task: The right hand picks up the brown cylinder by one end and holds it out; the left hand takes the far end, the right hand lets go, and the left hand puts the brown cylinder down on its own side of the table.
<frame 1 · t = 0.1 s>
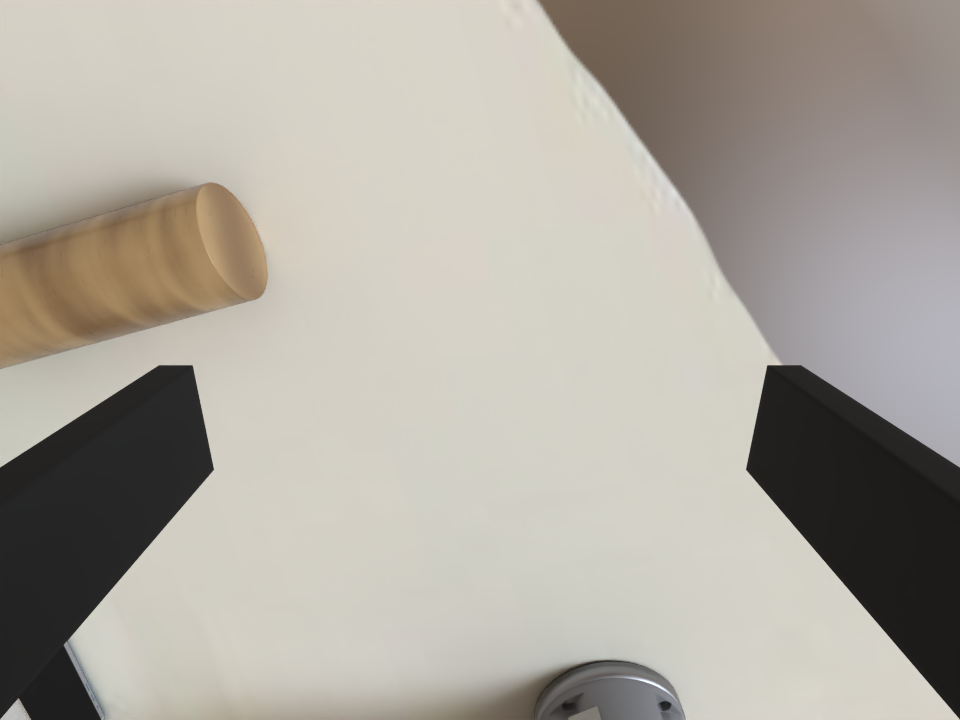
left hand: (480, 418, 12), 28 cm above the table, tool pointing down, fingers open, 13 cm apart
smartphone: (50, 671, 54), on the table
brown cylinder: (111, 276, 40), on the table
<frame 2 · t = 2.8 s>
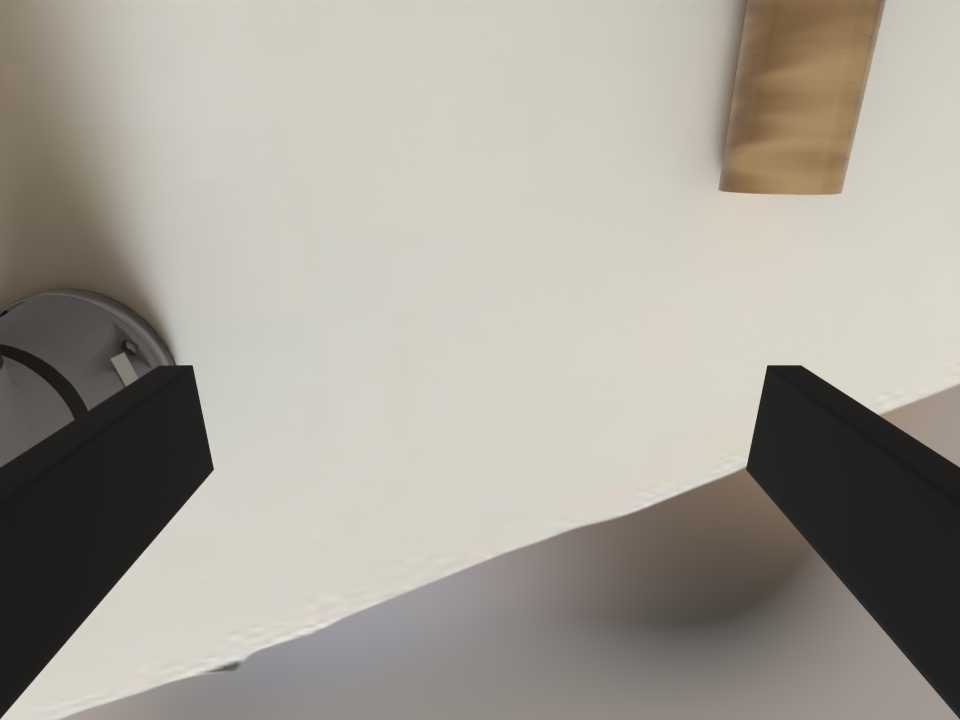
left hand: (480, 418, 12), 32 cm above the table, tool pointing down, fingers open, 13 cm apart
brown cylinder: (781, 11, 37), on the table, touching right hand
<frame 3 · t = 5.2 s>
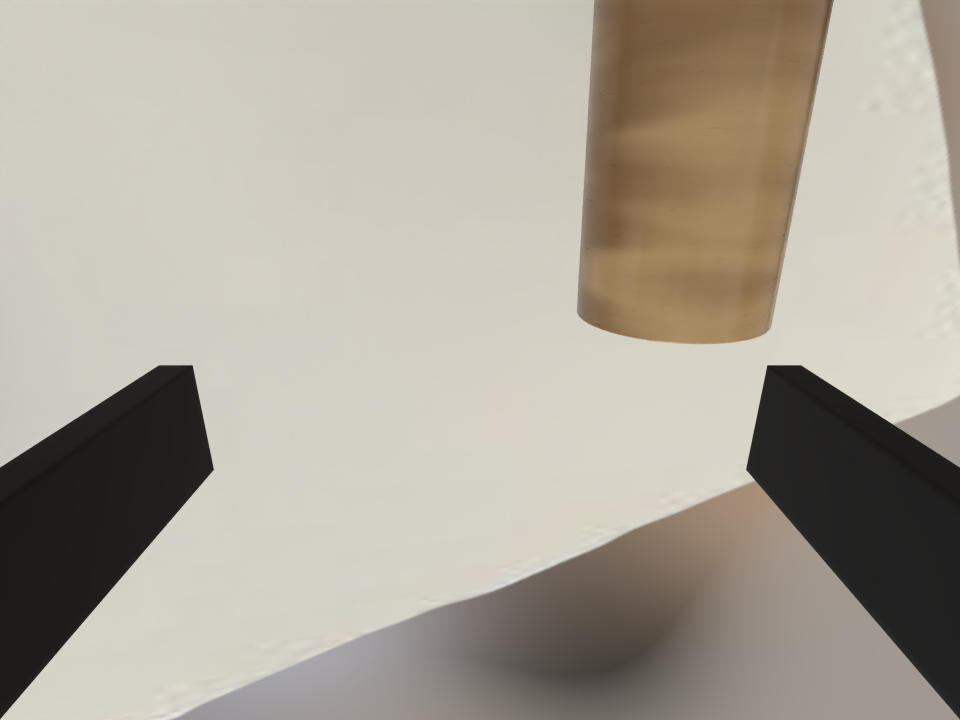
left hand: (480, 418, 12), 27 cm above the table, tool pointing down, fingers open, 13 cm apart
brown cylinder: (668, 14, 22), point 12 cm above the table, touching right hand
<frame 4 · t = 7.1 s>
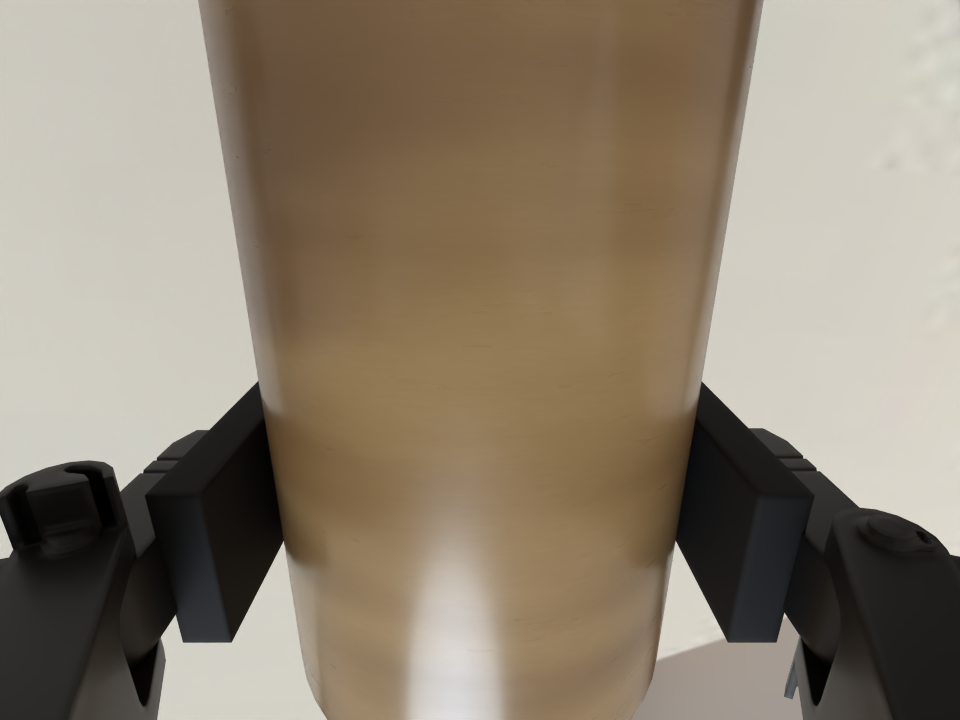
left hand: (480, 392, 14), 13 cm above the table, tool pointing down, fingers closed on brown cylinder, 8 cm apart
brown cylinder: (480, 43, 12), point 13 cm above the table, touching left hand, right hand
when the right hand's fingers open (13 cm above the table, at t = 8.0 s): brown cylinder stays where it is, held by the left hand.
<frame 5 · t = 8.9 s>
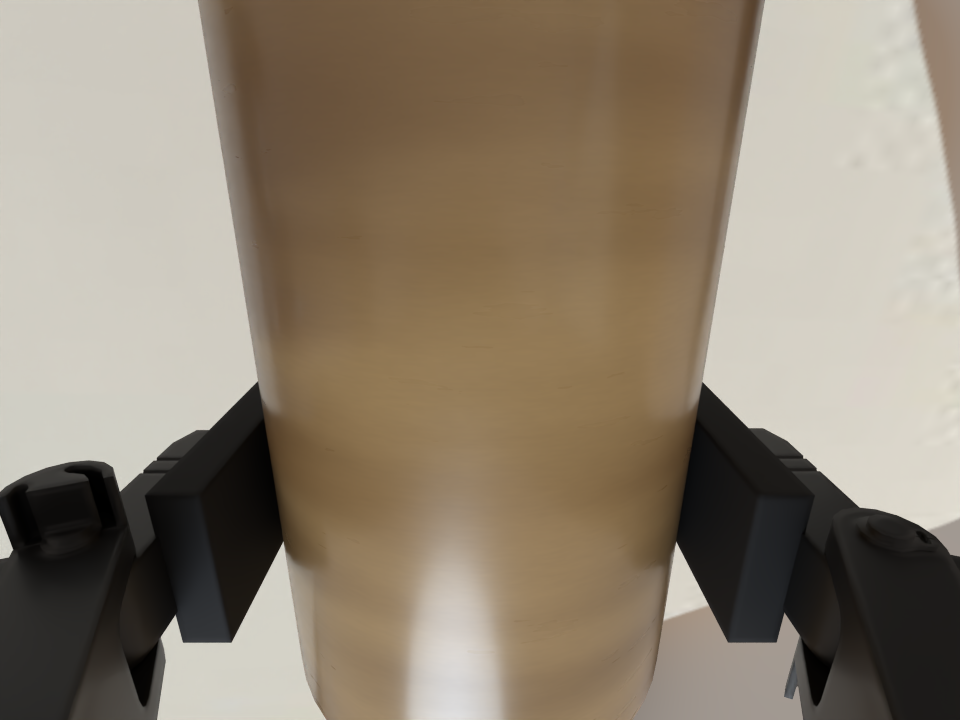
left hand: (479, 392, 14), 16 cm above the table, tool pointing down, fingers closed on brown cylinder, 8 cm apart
brown cylinder: (480, 43, 12), point 15 cm above the table, touching left hand
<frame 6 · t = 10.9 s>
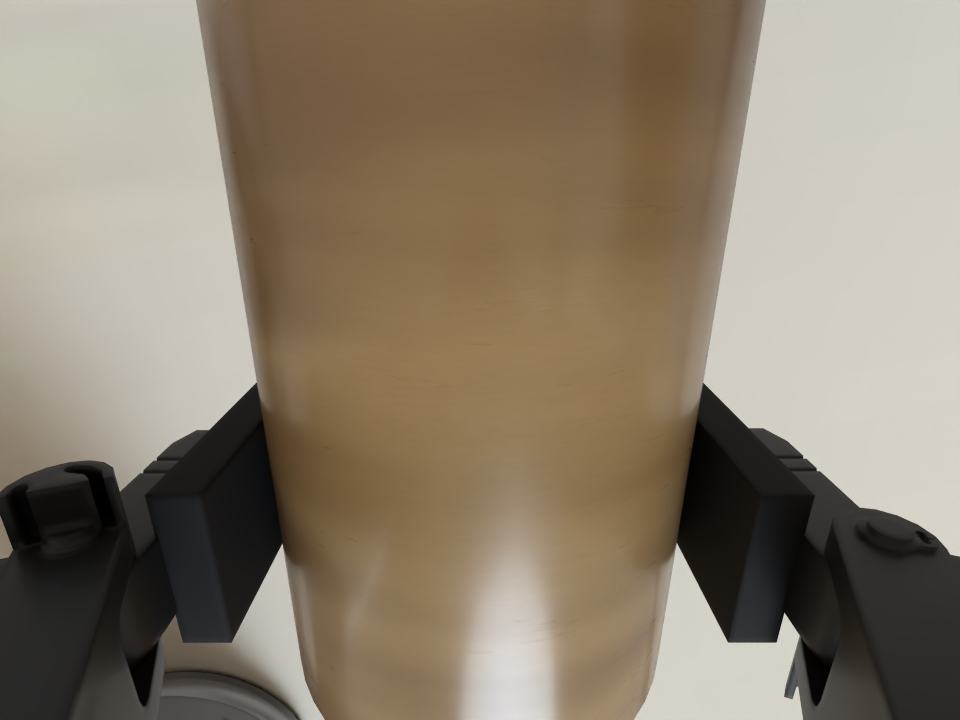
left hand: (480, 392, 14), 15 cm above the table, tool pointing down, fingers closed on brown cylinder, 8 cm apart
brown cylinder: (480, 40, 12), point 14 cm above the table, touching left hand
when the left hand's fingers open (2 cm above the table, at t = 12.4 s): brown cylinder drops 2 cm, on the table.
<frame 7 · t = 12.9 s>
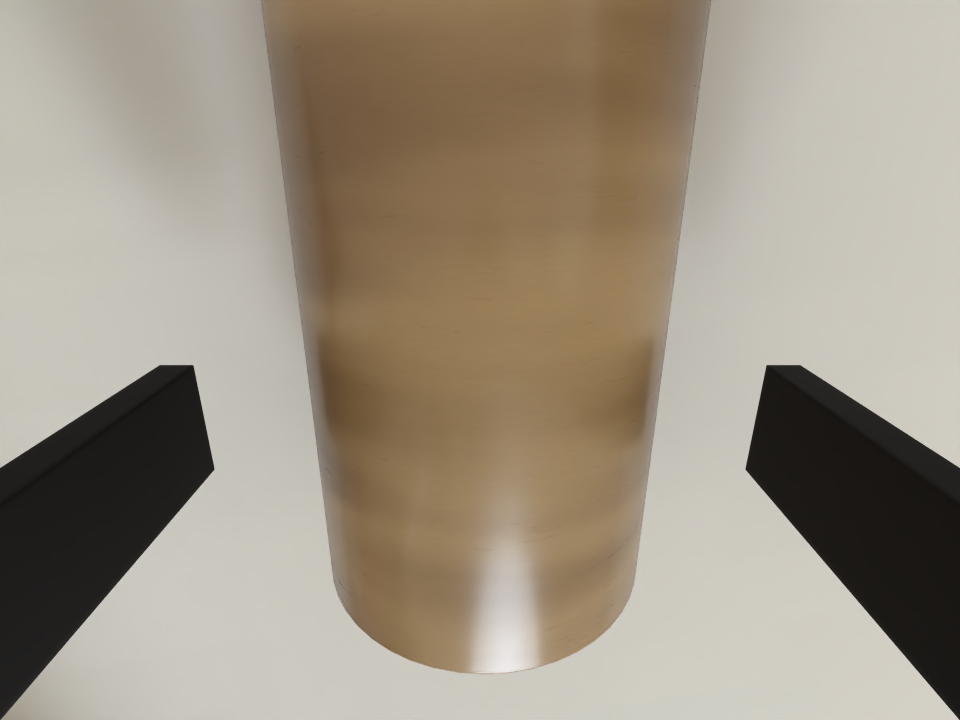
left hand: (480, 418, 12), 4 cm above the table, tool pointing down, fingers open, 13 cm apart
brown cylinder: (485, 58, 13), on the table
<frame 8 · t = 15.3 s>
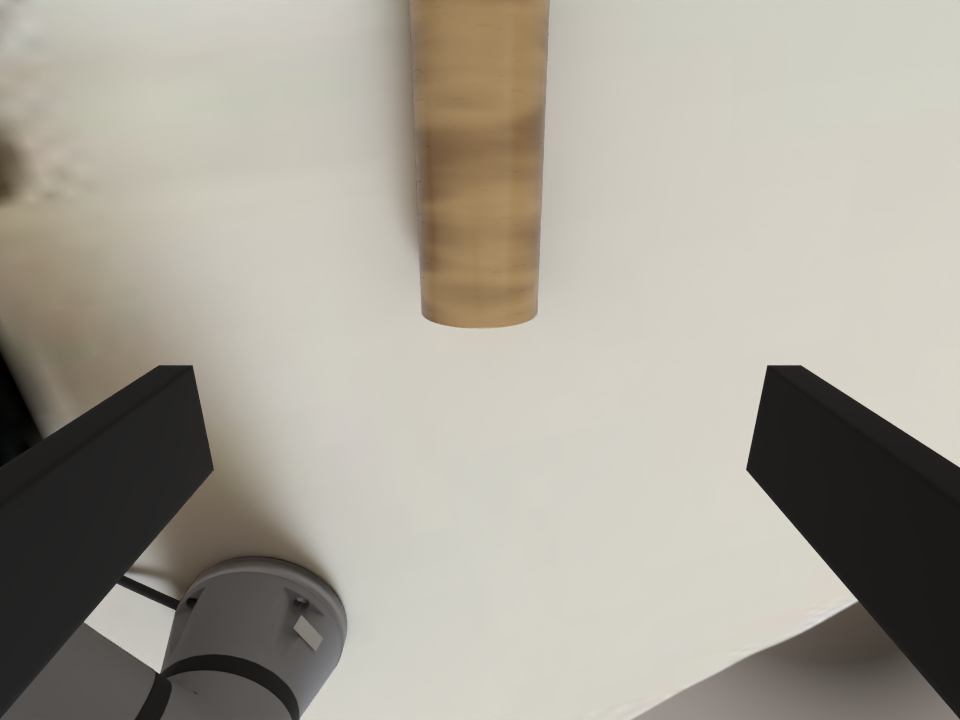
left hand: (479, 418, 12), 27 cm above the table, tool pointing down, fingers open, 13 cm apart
brown cylinder: (479, 122, 35), on the table
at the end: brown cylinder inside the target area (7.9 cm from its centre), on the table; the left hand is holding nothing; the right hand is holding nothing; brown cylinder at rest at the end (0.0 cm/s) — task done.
